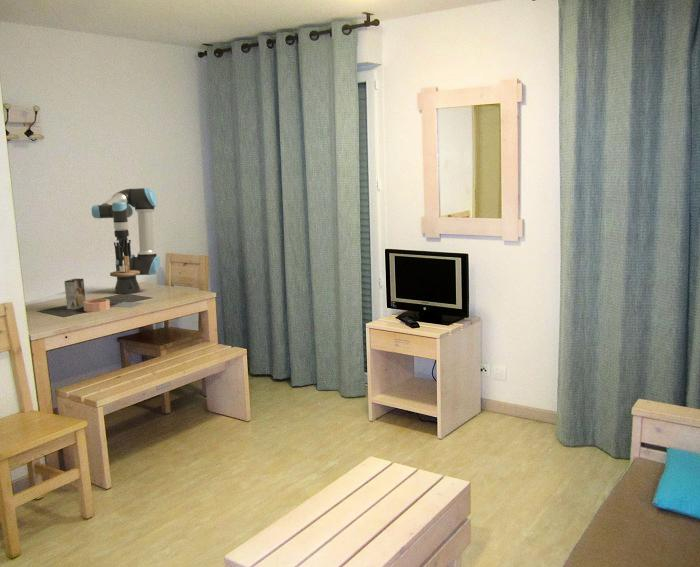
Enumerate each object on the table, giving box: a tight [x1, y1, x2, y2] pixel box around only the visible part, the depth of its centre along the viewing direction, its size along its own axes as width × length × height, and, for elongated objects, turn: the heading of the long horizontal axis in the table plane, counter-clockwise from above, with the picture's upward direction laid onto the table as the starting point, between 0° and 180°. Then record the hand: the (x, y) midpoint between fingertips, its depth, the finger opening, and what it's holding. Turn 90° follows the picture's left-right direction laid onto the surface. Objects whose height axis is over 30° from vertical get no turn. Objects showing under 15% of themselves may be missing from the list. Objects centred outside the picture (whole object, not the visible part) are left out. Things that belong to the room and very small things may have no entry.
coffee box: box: [64, 278, 87, 310], centre depth 386 cm, size 9×6×16 cm
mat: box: [110, 301, 144, 309], centre depth 391 cm, size 14×14×1 cm
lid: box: [109, 255, 140, 278], centre depth 387 cm, size 16×16×10 cm
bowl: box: [83, 298, 111, 313], centre depth 380 cm, size 13×13×5 cm
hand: (124, 270), depth 388 cm, fingers closed on lid, 4 cm apart
